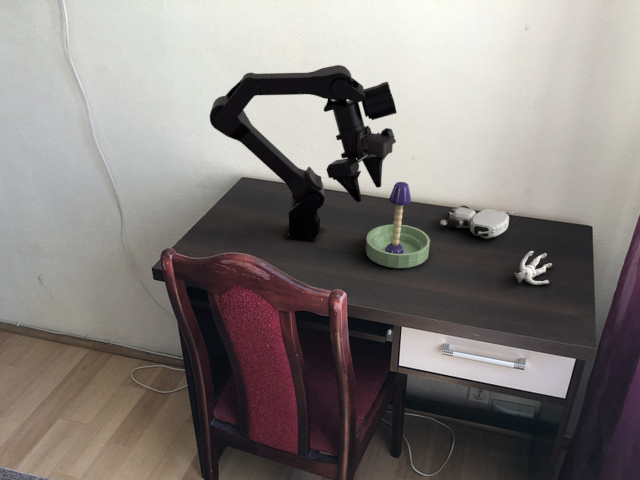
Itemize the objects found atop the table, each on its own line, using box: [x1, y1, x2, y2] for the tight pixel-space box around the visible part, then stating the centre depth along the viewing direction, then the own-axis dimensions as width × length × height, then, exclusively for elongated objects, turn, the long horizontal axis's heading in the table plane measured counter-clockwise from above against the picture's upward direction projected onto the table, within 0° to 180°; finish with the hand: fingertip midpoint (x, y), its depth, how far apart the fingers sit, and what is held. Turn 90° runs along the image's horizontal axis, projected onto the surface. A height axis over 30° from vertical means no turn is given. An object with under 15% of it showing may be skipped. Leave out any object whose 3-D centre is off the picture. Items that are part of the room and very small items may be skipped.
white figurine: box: [513, 250, 553, 286], centre depth 149 cm, size 8×5×12 cm
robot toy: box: [440, 205, 515, 239], centre depth 167 cm, size 12×4×15 cm
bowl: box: [365, 223, 431, 269], centre depth 157 cm, size 14×14×4 cm
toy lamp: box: [385, 181, 412, 254], centre depth 153 cm, size 5×5×17 cm
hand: (369, 194), depth 156 cm, fingers open, 9 cm apart
